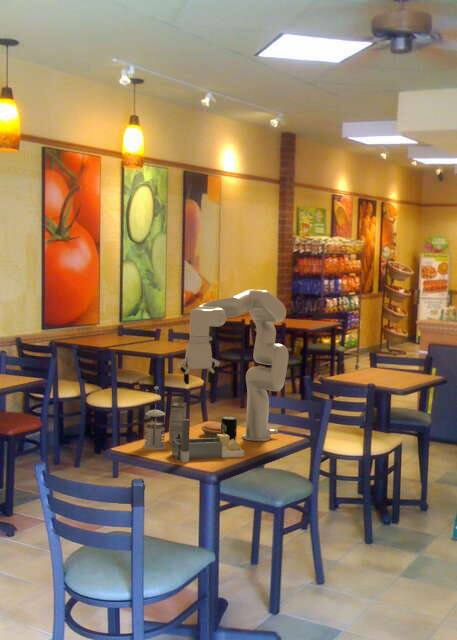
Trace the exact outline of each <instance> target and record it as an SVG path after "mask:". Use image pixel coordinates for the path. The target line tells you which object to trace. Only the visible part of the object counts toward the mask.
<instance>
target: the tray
mask: <svg viewBox="0 0 457 640" xmlns="http://www.w3.org/2000/svg"><path fill="white" fill-rule="evenodd" d="M221 458H222V459H231V458H245V450H244V449H242V448H241V449H240V450H239V451H228V449H227V447H226V446H222V457H221Z"/></svg>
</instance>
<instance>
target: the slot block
mask: <svg viewBox="0 0 457 640" xmlns="http://www.w3.org/2000/svg"><path fill="white" fill-rule="evenodd" d="M216 439H217V438H209V437H207V438H206V437H204V438H203V437H202V438H201V437H199V438H189V460H196V459H216V458H217V459H218V458H222V442H216ZM180 450H181V439H172V445H171V456H173V457H174V458H175V459H176V460H180Z"/></svg>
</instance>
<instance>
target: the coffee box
mask: <svg viewBox="0 0 457 640" xmlns="http://www.w3.org/2000/svg"><path fill="white" fill-rule="evenodd" d="M187 405H188V403H187V402H176V401H175V402H171V404H170V406H169V430H168V431H169V435H168V437H169V438H168V443H169V444H170V445H171V444H172V439H181V436H182V419H187Z"/></svg>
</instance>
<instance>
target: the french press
mask: <svg viewBox="0 0 457 640" xmlns="http://www.w3.org/2000/svg"><path fill="white" fill-rule="evenodd" d="M153 390H155V393H157V392H158V391H157V390H159V386H157V385H156V386H154V388H153ZM154 406H155V408H154V409H151V410H148V411H146V412H145V416H146V417H154V420H153V418H152V419H151V421H147V422H146V426H145V431H144V432H145V434H144V436H145V437H144V444H143V445H142V449H146V450H151V451H152V450H157V451H158V450H164V449H166V448H167V445H165V434H166V433H165V428H166V427H165V426H163V425H164V424H165V423H164V422H161V421H158V419H157V418H158V417H164V416H165V415H166V413H165V412H164V411H162V410H159V409H157V405H154Z"/></svg>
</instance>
